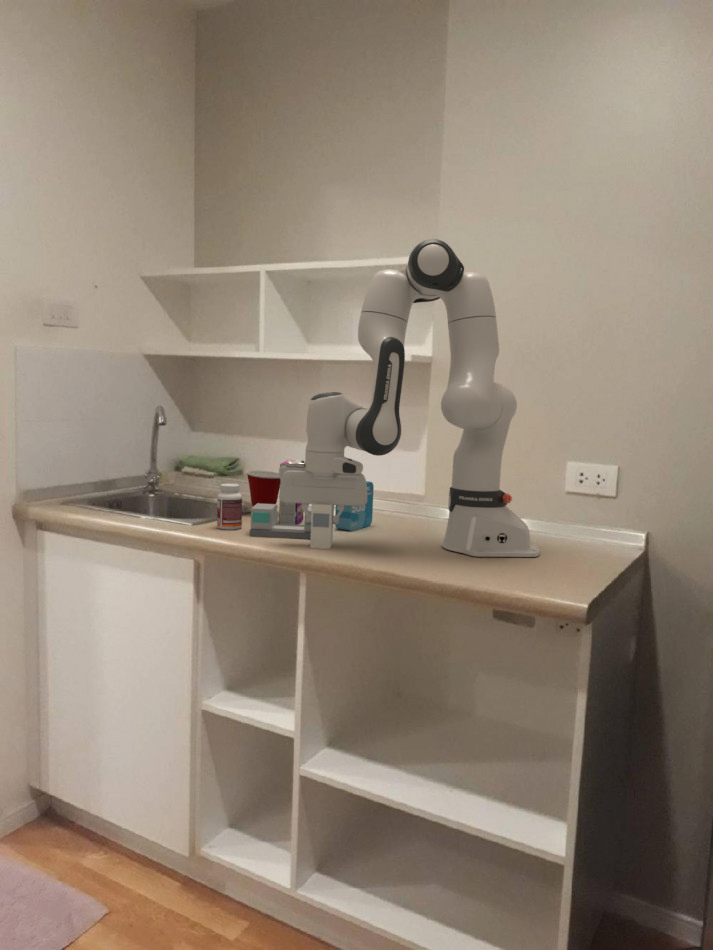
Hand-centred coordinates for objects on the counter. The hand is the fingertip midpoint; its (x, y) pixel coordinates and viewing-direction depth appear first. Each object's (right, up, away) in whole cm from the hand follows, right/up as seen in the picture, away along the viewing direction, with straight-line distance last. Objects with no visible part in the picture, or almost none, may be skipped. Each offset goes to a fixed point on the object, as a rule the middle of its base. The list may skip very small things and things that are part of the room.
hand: (322, 523), depth 171 cm
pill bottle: (-24, -2, +17) cm, 30 cm away
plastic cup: (-18, 0, +38) cm, 42 cm away
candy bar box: (-10, -2, +28) cm, 30 cm away
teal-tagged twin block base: (-9, -3, +12) cm, 15 cm away
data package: (+7, -3, +24) cm, 25 cm away
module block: (0, -5, +1) cm, 5 cm away
